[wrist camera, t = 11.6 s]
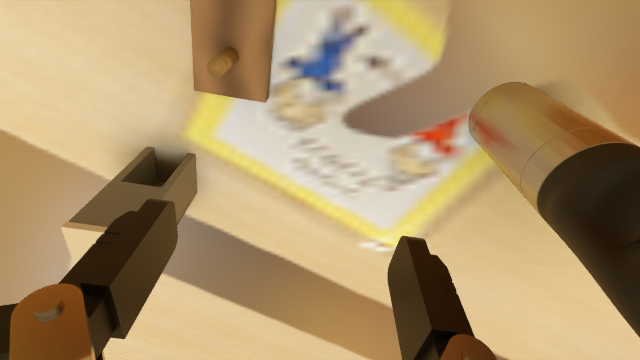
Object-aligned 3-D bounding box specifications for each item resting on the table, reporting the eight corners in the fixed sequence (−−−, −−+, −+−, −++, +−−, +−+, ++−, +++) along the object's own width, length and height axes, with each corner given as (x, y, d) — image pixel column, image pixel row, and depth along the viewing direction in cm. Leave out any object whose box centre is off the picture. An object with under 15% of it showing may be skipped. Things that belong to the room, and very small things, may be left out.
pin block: (284, -97, 32) (272, -116, 25) (268, 97, 43) (256, 120, 36) (192, -117, 31) (154, -141, 25) (199, 85, 42) (174, 107, 35)
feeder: (196, 153, 48) (134, 236, 33) (197, 193, 52) (143, 283, 37) (146, 146, 47) (60, 226, 32) (151, 186, 51) (77, 274, 36)
